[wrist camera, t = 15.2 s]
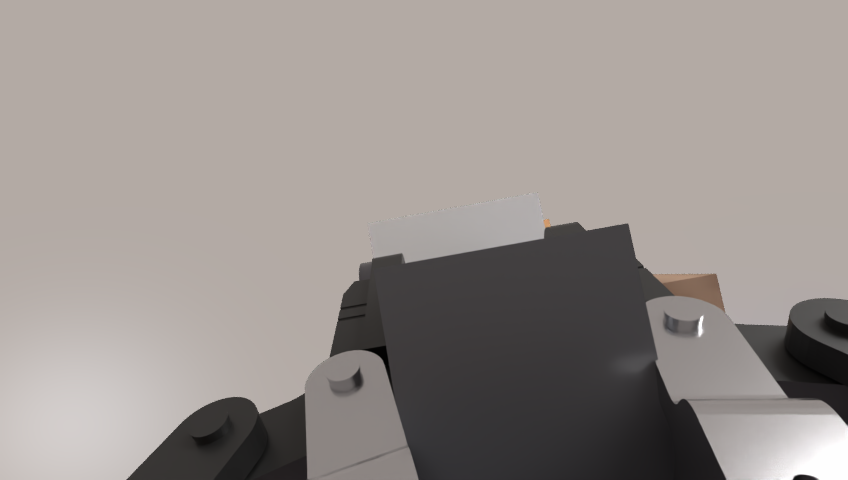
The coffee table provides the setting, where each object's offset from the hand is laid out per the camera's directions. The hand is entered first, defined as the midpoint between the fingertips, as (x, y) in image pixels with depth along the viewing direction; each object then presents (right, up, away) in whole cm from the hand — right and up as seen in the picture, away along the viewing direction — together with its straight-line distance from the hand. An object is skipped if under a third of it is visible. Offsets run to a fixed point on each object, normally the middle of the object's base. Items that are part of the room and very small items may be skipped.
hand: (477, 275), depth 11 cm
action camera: (0, -4, +5) cm, 6 cm away
